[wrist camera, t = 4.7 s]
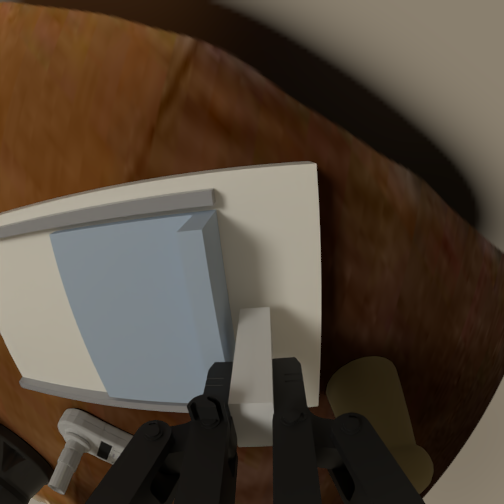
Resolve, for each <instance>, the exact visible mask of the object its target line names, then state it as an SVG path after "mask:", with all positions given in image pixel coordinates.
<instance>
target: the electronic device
mask: <svg viewBox="0 0 504 504" xmlns="http://www.w3.org/2000/svg"><path fill="white" fill-rule="evenodd" d="M58 429H59V431H60V433H61V434H62V436H63V437H64V440H65V441H66V442H67V443H66V445H65V448H64V449H63V451H62V453H61V455H60V457H59V459H58V461H57V462H58V464H57V466H56V468H55V470H54V473H53V475H52V477H51V479H50V482H49V484H48V486H49V487H50V488H51V489H53V490H54V491H56V492H58V493H60V494H65V492H66V490H67V487H68V485H69V482H70V480H71V477H72V475H73V473H74V472H75V471H76V469H77V466H78V464H79V462H80V459H81V458H80V457H81V456H82V454H83V452H84V453H87V452H88V453H90V454H92V455H95V456H96V457H98V458H100V459H102V460H104V461H106V462H109V463H111V464H114V463H115V461H116V460H117V458H118V457H119V456H120V454H121V453H122V451H123V450H124V449H125V447H126V446H127V444H128V443H129V441H130V440H131V439H132V437H133V435H131V434H129V433H126V432H124V431H122V430H120V429H118V428H116V427H114V426H112V425H110V424H108V423H106V422H104V421H102V420H100V419H98V418H96V417H94V416H92V415H90V414H88V413H86V412H84V411H82V410H78V409H75V408H71V409H67V410H66V411H65V412H64V413H63V415H62V417H61V419H60V420H59V422H58Z"/></svg>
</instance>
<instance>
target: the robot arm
mask: <svg viewBox="0 0 504 504" xmlns="http://www.w3.org/2000/svg"><path fill="white" fill-rule="evenodd" d="M187 409H188V412H189V414H190V417H191V420H192V421H190V422H188V423H185V424H181V425H176V426H171V427H170V426H169V425H168V424H167V423H165V422H163V421H159V420H153V421H148V422H146V423H144V424H143V425H142V426H141V427H140V428H139V429H138V430H137V432H136V433H135V434H134V436H133V437H132V439H131V440H130V441H129V443H128V444H127V446H126V447H125V449H124V450H123V451H122V453H121V454H120V456H119V457H118V458H117V460H116V461H115V463H114V464H113V465H112V467H111V468H110V470H109V471H108V472H107V474H106V475H105V476H104V478H103V479H102V481H101V482H100V483H99V485H98V486H97V488H96V489H95V490H94V492H93V493H92V495H91V496H90V497H89V499H88V500H87V501H86V503H85V504H172V502H173V500H174V498H175V500H174V504H235V491H236V477H237V464H238V456H237V452H236V448H237V444H238V447H256V446H273V504H322V503H321V494H320V486H319V478H318V469H317V467H320V468H327V469H328V472H329V474H330V476H331V478H332V480H333V482H334V484H335V486H336V488H337V490H338V492H339V494H340V496H341V498H342V500H343V502H344V504H425V503H424V501H423V499H422V498H421V497H420V495H419V494H418V492H417V491H416V489H415V488H414V486H413V485H412V483H411V482H410V480H409V479H408V477H407V476H406V475H405V473H404V472H403V470H402V469H401V467H400V466H399V464H398V463H397V461H396V460H395V458H394V457H393V456H392V454H391V453H390V451H389V450H388V448H387V447H386V445H385V444H384V442H383V441H382V439H381V438H380V437H379V435H378V434H377V432H376V431H375V429H374V428H373V426H372V425H371V423H370V422H369V420H368V419H367V418H366V417H365V416H363V415H361V414H358V413H351V412H350V413H345V414H342V415H340V416H338V417H337V418H336V419H335V420H332V419H324V418H320V417H317V416H315V415H314V414H313V413H311V412H310V410H309V409H308V406H307V401H306V394H305V388H304V381H303V374H302V368H301V363H300V362H299V361H298V360H297V359H296V358H295V357H288V358H275V359H273V343H272V331H271V318H270V307H260V308H245V309H240V314H239V322H238V330H237V337H236V345H235V353H234V361H233V362H214V364H213V365H212V366H211V367H210V368H209V370H208V374H207V380H206V383H205V388H204V392H203V394H202V395H199V396H196V397H194V398H193V399H192V400H191V401H189V403H188V405H187ZM53 473H54V472H53V470H52V468H51V467H50V465H49V464H48V463H47V462H46V461H45V460H44V459H43V458H42V457H41V456H40V455H39V454H38V453H37V452H36V451H35V450H34V449H33V448H31V447H30V446H29V445H28V444H27V443H25V442H24V441H23V440H22V439H20V438H19V437H18V436H17V435H15V434H14V433H13V432H11V431H10V430H8V429H7V428H5V427H4V426H2V425H1V424H0V504H28V503H29V501H30V499H31V498H32V497H33V496H34V495H35V494H36V493H37V492H38V491H39V490H40V489H41V488H42V487H43V486H44V485H47V484H48V483H49V482H50V479H51V477H52V475H53Z"/></svg>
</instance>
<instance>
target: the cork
mask: <svg viewBox="0 0 504 504" xmlns="http://www.w3.org/2000/svg"><path fill="white" fill-rule="evenodd" d="M326 394H327V398H328V401H329V403H330V405H331V408H332V410H333V412H334V415H335V417H336V418H337V417H338V416H340V415H342V414H345V413H350V412H351V413H358V414H361V415H363V416H365V417H366V418H367V419H368V420H369V422H370V423H371V425H372V426H373V428H374V429H375V431H376V432H377V434H378V435H379V437H380V438H381V439H382V441H383V442H384V444H385V445H386V447H387V448H388V450H389V451H390V453H391V454H392V456H393V457H394V458H395V460H396V461H397V463H398V464H399V466H400V467H401V469H402V470H403V472H404V473H405V475H406V476H407V477H408V479H409V480H410V482H411V483H412V485H413V486H414V488H415V489H416V491H417V492H418V494H420V493H421V492H423V491H424V489H425V488H426V487H427V486H428V485H429V484H430V482H431V479H432V475H433V471H434V470H433V463H432V460H431V458H430V456H429V455H428V453H427V452H426V451H425V450H424V449H423V448H422V447H420V446H418V445H416V443H415V438H414V434H413V430H412V425H411V421H410V417H409V413H408V409H407V406H406V402H405V398H404V394H403V391H402V387H401V384H400V380H399V377H398V373H397V370H396V368H395V366H394V364H393V363H392V362H391V361H389V360H388V359H386V358H384V357H378V356H370V357H363V358H360V359H357V360H354V361H351V362H349V363H348V364H346V365H344V366H343V367H341V368H340V369H339V370H338V371H337V372H336V373H334V374H333V375H332V377H331V379H330V380H329V382H328V384H327V388H326Z"/></svg>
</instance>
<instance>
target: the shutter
mask: <svg viewBox="0 0 504 504" xmlns="http://www.w3.org/2000/svg"><path fill="white" fill-rule="evenodd" d="M49 236H50V240H51V244H52V248H53V252H54V255H55V259H56V263H57V266H58V270H59V273H60V276H61V280H62V283H63V286H64V289H65V292H66V295H67V298H68V301H69V304H70V307H71V309H72V312H73V315H74V318H75V320H76V323H77V326H78V328H79V331H80V333H81V336H82V338H83V341H84V343H85V345H86V348H87V350H88V352H89V355H90V357H91V359H92V362H93V364H94V366H95V368H96V370H97V372H98V375H99V377H100V379H101V381H102V383H103V385H104V387H105V389H106V391H107V393H108V395H109V397H115V398H124V399H133V400H144V401H157V402H173V403H189V401H191V400H192V399H193V398H194V397H196V396H199V395H202V394H203V392H204V388H205V383H206V380H207V374H208V370H209V368H210V367H211V366H212V365H213V364H214V362H233V361H234V353H235V345H236V343H235V337H234V330H233V324H232V317H231V311H230V304H229V298H228V291H227V284H226V277H225V270H224V263H223V256H222V249H221V242H220V234H219V227H218V219H217V212H216V210H206V211H197V212H188V213H180V214H171V215H163V216H155V217H148V218H140V219H133V220H125V221H118V222H111V223H104V224H98V225H91V226H85V227H78V228H72V229H66V230H60V231H55V232H53V233H51V234H49Z"/></svg>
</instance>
